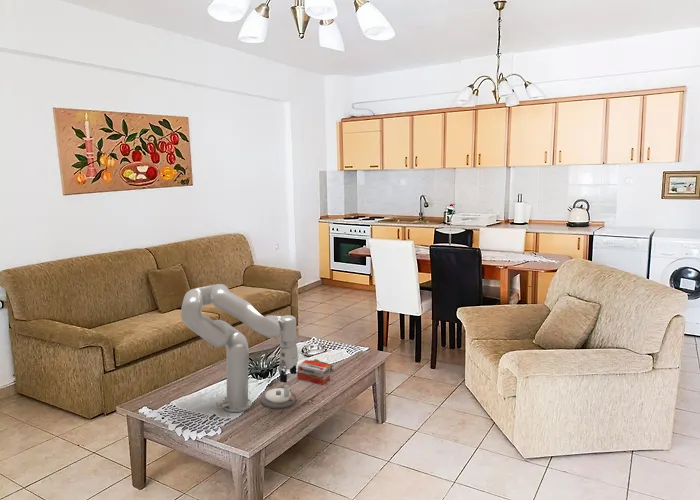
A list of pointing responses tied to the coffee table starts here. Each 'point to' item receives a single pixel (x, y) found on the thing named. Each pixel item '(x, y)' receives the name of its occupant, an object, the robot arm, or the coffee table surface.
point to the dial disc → (279, 395)
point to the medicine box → (313, 372)
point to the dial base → (278, 405)
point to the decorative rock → (322, 363)
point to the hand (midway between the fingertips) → (288, 377)
